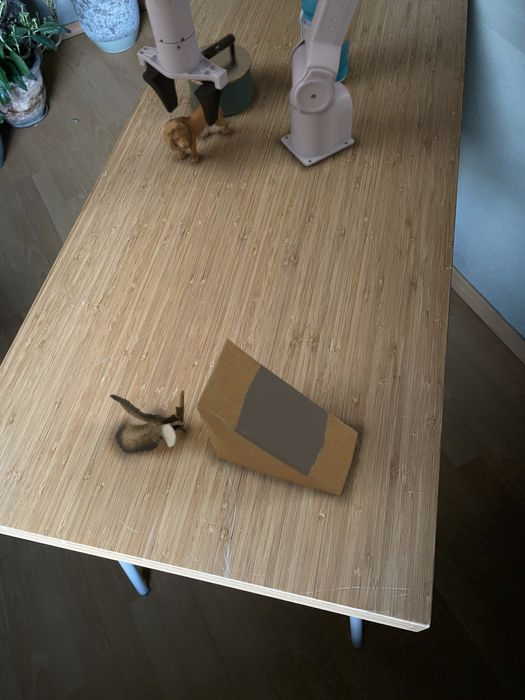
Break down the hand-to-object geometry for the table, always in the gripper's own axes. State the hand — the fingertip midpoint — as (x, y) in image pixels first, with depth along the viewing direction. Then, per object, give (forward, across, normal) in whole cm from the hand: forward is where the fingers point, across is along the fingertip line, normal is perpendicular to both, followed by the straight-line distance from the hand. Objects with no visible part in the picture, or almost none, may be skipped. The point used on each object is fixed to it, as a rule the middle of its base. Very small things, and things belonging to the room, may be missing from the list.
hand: (192, 115), depth 93 cm
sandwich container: (+7, -38, +39) cm, 55 cm away
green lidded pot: (+7, +4, -14) cm, 16 cm away
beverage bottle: (+7, -10, -27) cm, 29 cm away
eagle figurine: (+7, -23, +45) cm, 51 cm away
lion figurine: (+7, 0, 0) cm, 7 cm away
